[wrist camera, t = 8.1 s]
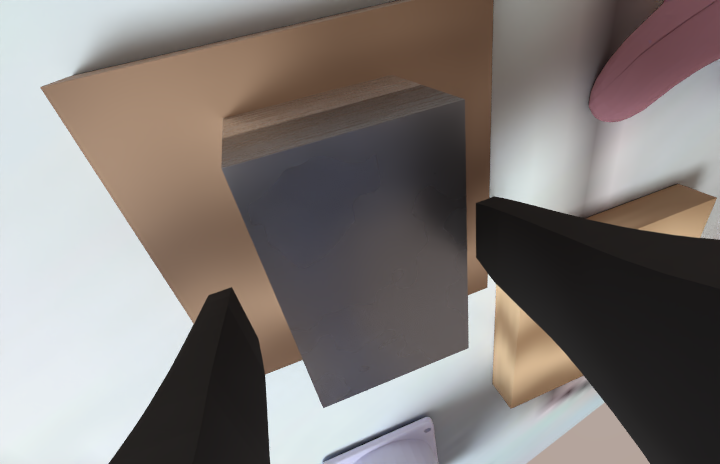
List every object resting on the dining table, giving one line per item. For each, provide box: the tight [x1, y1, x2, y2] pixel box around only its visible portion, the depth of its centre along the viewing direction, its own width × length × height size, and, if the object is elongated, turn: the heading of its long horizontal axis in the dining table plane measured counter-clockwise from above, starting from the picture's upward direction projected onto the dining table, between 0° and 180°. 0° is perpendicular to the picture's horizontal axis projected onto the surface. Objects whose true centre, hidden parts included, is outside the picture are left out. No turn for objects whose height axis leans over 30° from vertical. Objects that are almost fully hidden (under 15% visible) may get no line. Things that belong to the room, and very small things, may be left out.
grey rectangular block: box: [221, 75, 468, 408], centre depth 11 cm, size 5×8×4 cm, turn 11°
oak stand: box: [492, 184, 717, 408], centre depth 22 cm, size 12×12×2 cm
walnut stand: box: [40, 0, 493, 374], centre depth 13 cm, size 12×12×2 cm
